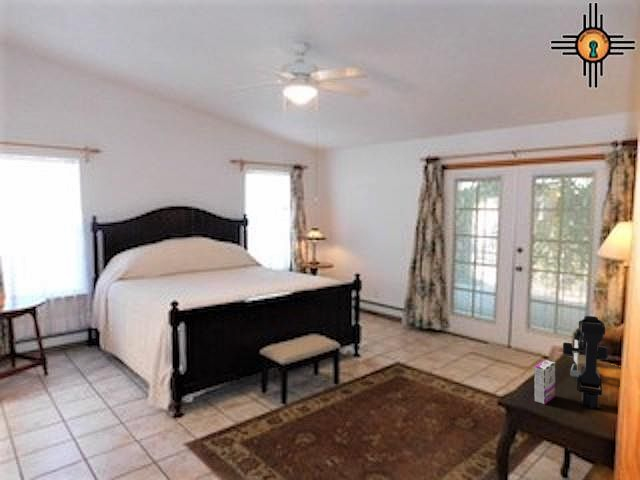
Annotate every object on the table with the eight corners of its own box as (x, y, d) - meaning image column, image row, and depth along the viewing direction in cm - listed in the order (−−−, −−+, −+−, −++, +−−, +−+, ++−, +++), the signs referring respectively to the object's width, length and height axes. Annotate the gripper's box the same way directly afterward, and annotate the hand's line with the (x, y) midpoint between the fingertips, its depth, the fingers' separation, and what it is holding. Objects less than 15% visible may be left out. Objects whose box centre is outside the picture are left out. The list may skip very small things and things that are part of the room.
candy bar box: (544, 393, 200) (544, 359, 198) (555, 396, 196) (556, 362, 194) (533, 401, 193) (533, 366, 191) (544, 405, 189) (545, 369, 187)
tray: (594, 380, 211) (594, 375, 210) (570, 376, 217) (570, 370, 217) (596, 373, 219) (596, 367, 219) (572, 369, 225) (572, 363, 225)
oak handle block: (589, 376, 214) (590, 351, 213) (577, 374, 217) (578, 350, 215) (588, 372, 219) (589, 348, 218) (577, 371, 221) (577, 346, 220)
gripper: (607, 331, 207) (604, 346, 218) (563, 327, 216) (562, 341, 226) (609, 352, 201) (605, 366, 211) (563, 347, 209) (562, 361, 220)
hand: (583, 358), depth 217 cm, fingers open, 9 cm apart
